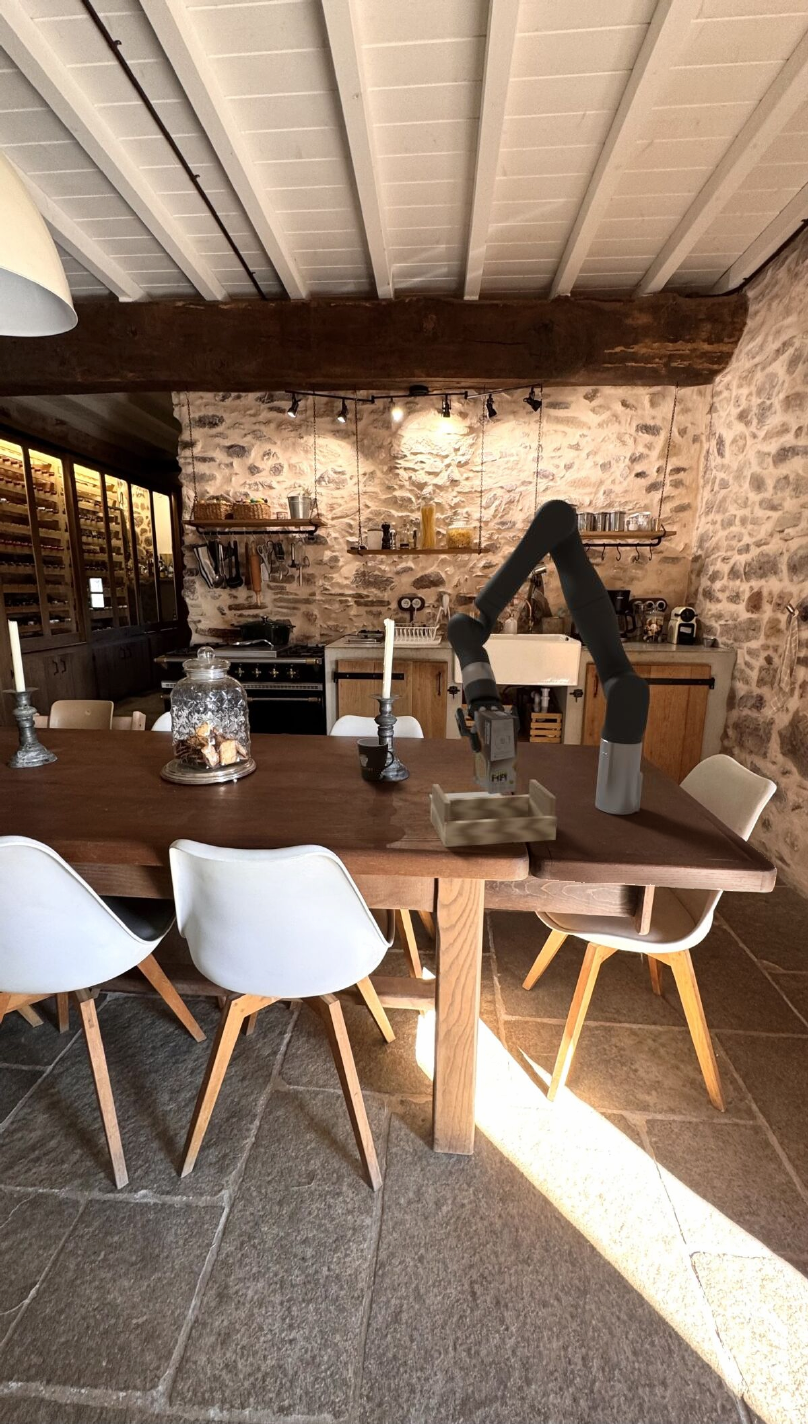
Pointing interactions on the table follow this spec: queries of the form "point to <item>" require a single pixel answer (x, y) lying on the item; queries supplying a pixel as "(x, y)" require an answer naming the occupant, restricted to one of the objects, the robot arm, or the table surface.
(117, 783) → the table surface
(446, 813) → the wooden crate
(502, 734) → the coffee box
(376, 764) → the coffee mug
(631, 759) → the robot arm
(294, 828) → the table surface
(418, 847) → the table surface
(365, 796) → the table surface
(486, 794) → the white mat
